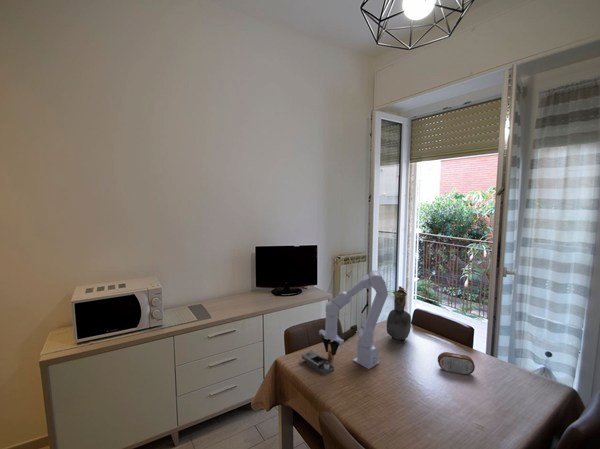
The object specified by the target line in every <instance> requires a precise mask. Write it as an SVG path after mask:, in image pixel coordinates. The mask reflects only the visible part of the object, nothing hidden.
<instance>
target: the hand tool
mask: <svg viewBox="0 0 600 449" xmlns="http://www.w3.org/2000/svg"><path fill="white" fill-rule="evenodd" d="M356 331H357V332H358V325H357V324H353V325H351V326H350V328H349V329H348V330H346V331H344V332H342V333H340V334H339V335H338V336H339V337H340V338H341V339H343V340H344V341H345V340H347V339H348V338H350V337H352V336H355V335H356V334H357V332H356ZM354 334H355V335H354Z"/></svg>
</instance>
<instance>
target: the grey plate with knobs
mask: <svg viewBox="0 0 600 449" xmlns="http://www.w3.org/2000/svg"><path fill="white" fill-rule="evenodd" d="M301 359H302V360H304V361H305V362H306V366H309V368H311V369H313V370H315V372H317V373H319V374H321V376H322V375H323V376H325V375H328V374H330V373H331V372H333V371H335V367H334V366H333V365H331V364H330V363H329V360H328V358H324V356H321V355H320V354H318V353H317V352H314V351H313V350H311V351H308V352H306V353H303V354H302V355H301Z"/></svg>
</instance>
